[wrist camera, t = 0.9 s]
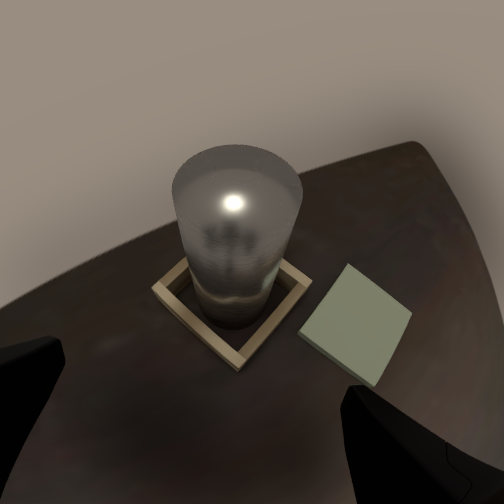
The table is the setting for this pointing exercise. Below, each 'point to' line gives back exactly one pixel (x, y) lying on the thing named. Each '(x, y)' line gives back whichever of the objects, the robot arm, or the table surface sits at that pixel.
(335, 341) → the green pad
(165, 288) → the wooden square frame
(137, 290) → the table surface
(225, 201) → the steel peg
